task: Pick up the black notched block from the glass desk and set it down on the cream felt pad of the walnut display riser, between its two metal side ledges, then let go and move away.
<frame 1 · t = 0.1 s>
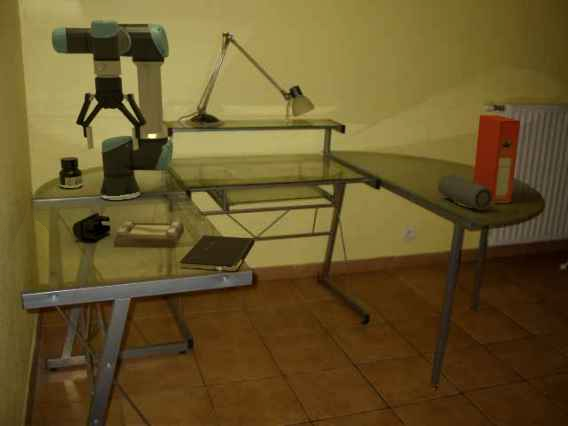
hand: (113, 149, 174), 28 cm above the table, tool pointing down, fingers open, 13 cm apart
black notched block: (92, 238, 182), on the table
ink bottle: (71, 187, 243), on the table
bluetooth speaker: (463, 205, 223), on the table
hardcover book: (219, 257, 168), on the table
file binder: (490, 198, 233), on the table
display riser: (150, 238, 181), on the table
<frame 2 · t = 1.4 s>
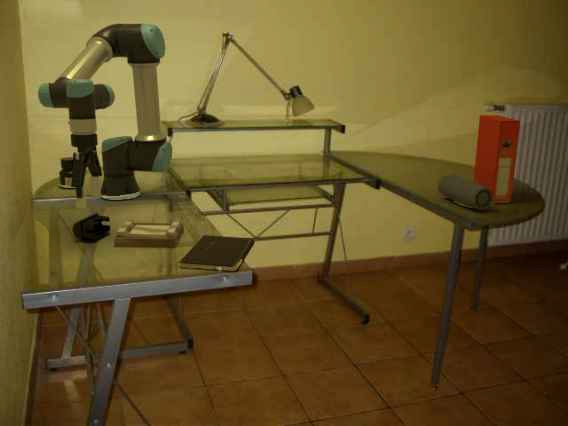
hand: (89, 202, 178), 11 cm above the table, tool pointing down, fingers open, 13 cm apart
nothing on the table moved.
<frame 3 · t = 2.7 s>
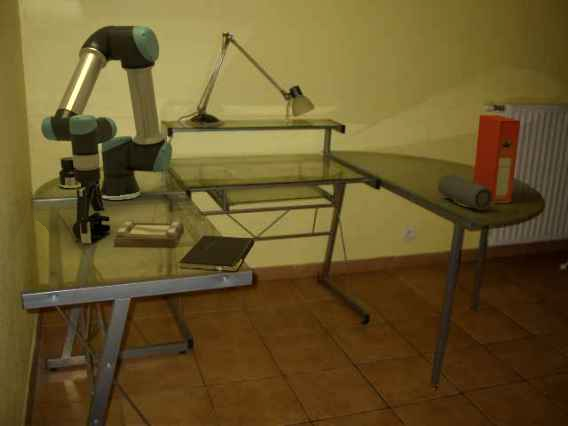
hand: (92, 236, 181), 0 cm above the table, tool pointing down, fingers closed on black notched block, 11 cm apart
black notched block: (92, 238, 181), on the table, touching gripper
everything else where it was.
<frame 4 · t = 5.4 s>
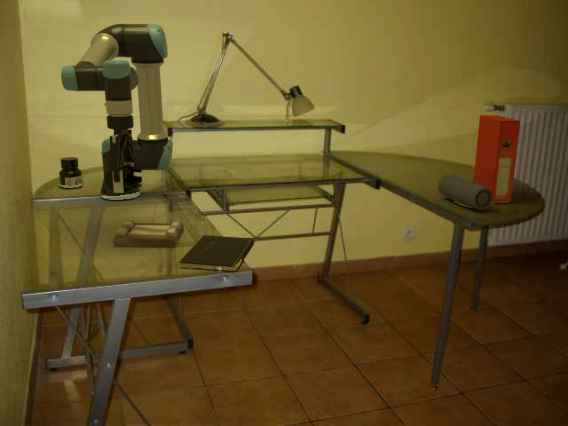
hand: (124, 187, 177), 16 cm above the table, tool pointing down, fingers closed on black notched block, 11 cm apart
black notched block: (124, 189, 177), point 16 cm above the table, touching gripper
everything else where it was.
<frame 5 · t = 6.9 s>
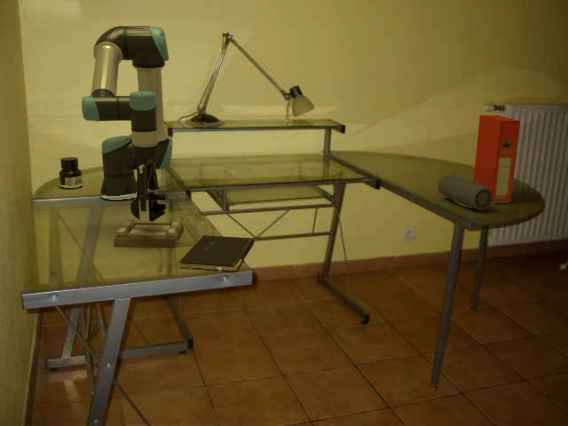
hand: (149, 215, 179), 7 cm above the table, tool pointing down, fingers closed on black notched block, 11 cm apart
black notched block: (149, 217, 179), point 7 cm above the table, touching gripper
everything else where it was.
when the fingers open (4 cm above the table, at t = 8.0 s): black notched block drops 1 cm, resting on display riser.
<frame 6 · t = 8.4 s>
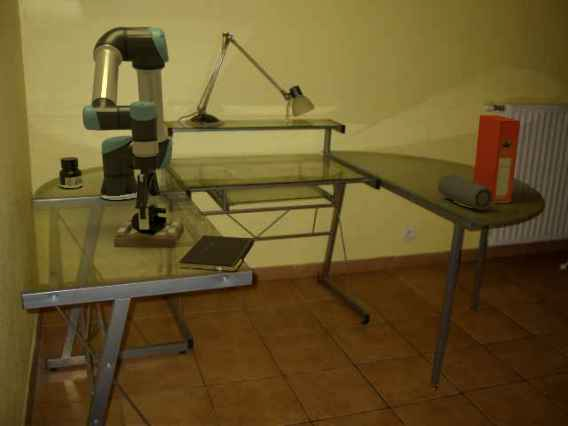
hand: (149, 222, 180), 5 cm above the table, tool pointing down, fingers open, 13 cm apart
black notched block: (149, 230, 181), point 3 cm above the table, touching display riser
everything else where it was.
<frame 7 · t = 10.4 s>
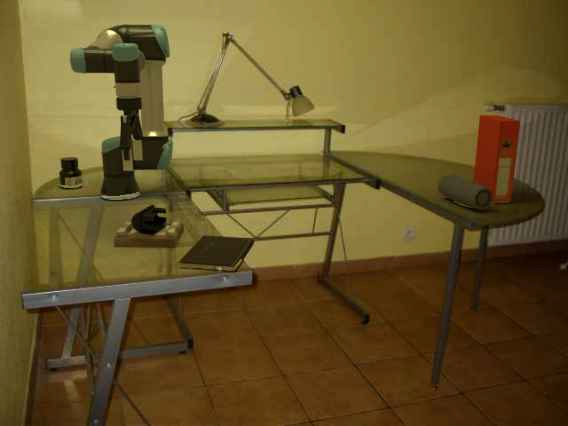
hand: (133, 165, 183), 22 cm above the table, tool pointing down, fingers open, 13 cm apart
nothing on the table moved.
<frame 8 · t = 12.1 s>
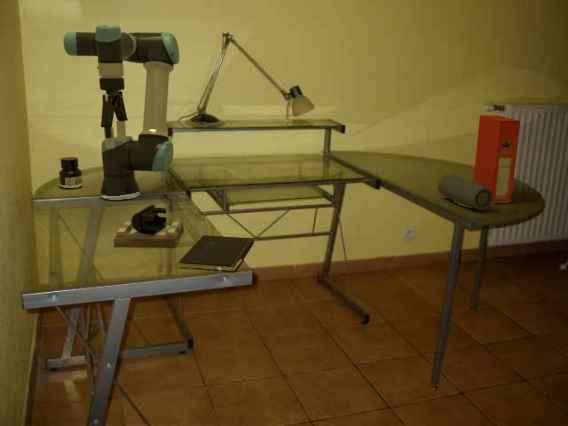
hand: (116, 144, 188), 27 cm above the table, tool pointing down, fingers open, 13 cm apart
nothing on the table moved.
at the end: black notched block 0.1 cm off-centre on the display riser, point 2.6 cm above the display riser's base; black notched block tilted 0°; the gripper is holding nothing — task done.
